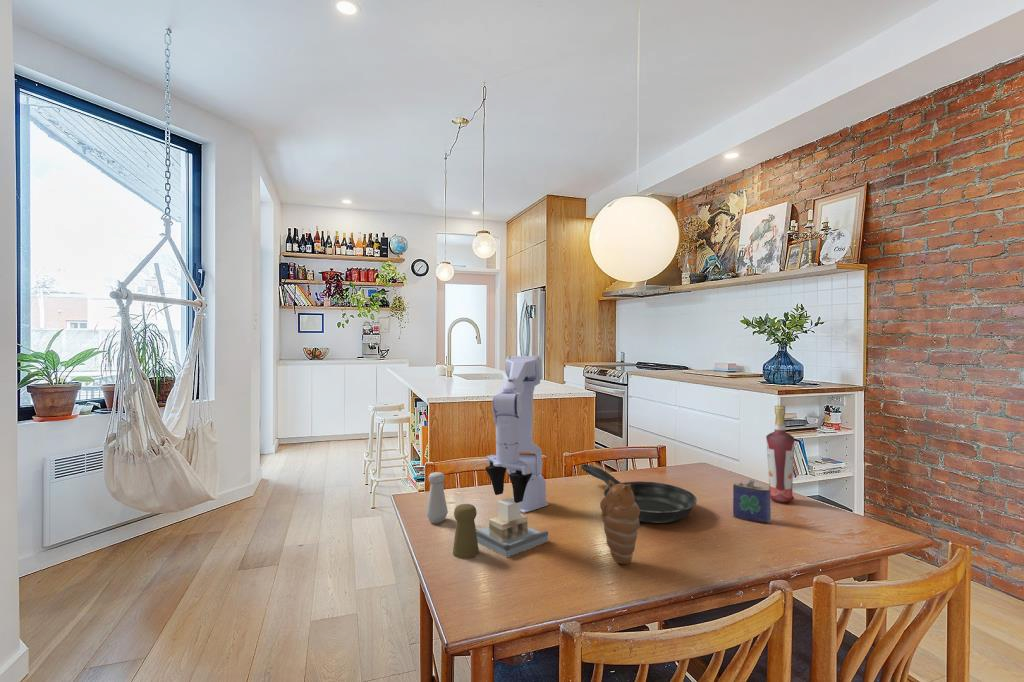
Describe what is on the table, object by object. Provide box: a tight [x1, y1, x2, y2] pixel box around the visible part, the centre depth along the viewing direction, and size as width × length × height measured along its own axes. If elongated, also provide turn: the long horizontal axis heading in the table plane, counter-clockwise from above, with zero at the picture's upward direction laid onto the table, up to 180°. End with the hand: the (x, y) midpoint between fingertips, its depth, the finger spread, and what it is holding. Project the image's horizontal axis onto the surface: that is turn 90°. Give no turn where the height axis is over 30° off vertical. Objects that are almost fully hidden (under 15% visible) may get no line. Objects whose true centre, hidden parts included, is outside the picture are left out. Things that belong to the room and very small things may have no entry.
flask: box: [732, 479, 772, 525], centre depth 132 cm, size 9×3×11 cm, turn 50°
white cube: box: [497, 497, 522, 522], centre depth 122 cm, size 4×4×4 cm
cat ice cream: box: [599, 480, 641, 565], centre depth 108 cm, size 9×8×18 cm
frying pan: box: [581, 463, 698, 524], centre depth 148 cm, size 44×25×7 cm, turn 26°
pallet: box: [488, 513, 529, 542], centre depth 122 cm, size 8×5×4 cm, turn 130°
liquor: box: [765, 405, 795, 504], centre depth 147 cm, size 7×7×28 cm
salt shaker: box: [425, 471, 449, 524], centre depth 135 cm, size 6×6×13 cm
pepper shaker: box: [452, 503, 480, 559], centre depth 115 cm, size 6×6×11 cm
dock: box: [476, 526, 549, 558], centre depth 122 cm, size 13×14×2 cm
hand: (508, 497), depth 122 cm, fingers open, 7 cm apart
